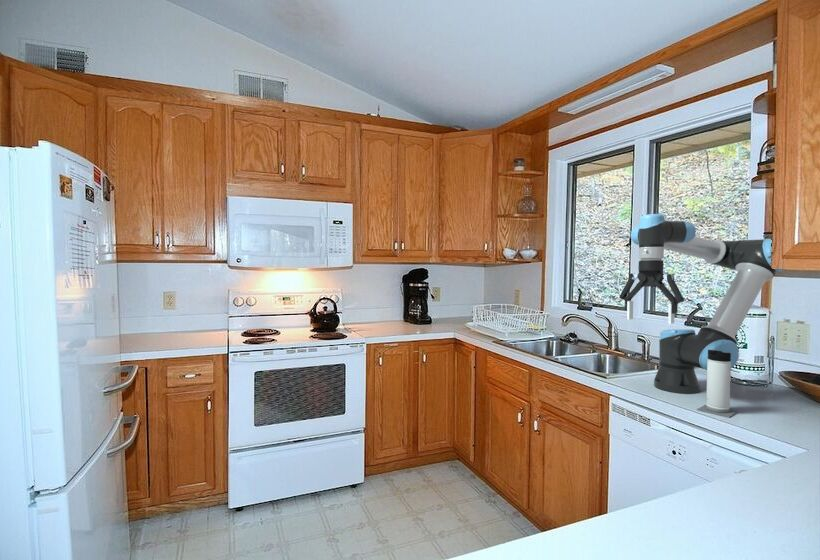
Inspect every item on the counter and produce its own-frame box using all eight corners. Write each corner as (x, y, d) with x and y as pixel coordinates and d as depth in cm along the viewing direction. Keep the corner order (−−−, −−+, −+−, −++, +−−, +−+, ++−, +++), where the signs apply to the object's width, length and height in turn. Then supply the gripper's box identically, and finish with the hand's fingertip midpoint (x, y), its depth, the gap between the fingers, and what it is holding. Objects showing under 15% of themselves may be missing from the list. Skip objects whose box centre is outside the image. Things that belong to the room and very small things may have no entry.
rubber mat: (706, 405, 148) (706, 404, 148) (737, 412, 141) (737, 411, 141) (697, 410, 143) (697, 409, 143) (729, 417, 136) (729, 416, 136)
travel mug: (700, 408, 144) (702, 348, 143) (714, 405, 146) (716, 347, 146) (720, 414, 138) (721, 352, 137) (734, 411, 141) (735, 350, 140)
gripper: (609, 260, 156) (609, 318, 157) (686, 259, 136) (685, 326, 137) (620, 260, 161) (619, 316, 162) (696, 259, 141) (694, 324, 142)
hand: (649, 321), depth 149 cm, fingers open, 13 cm apart
